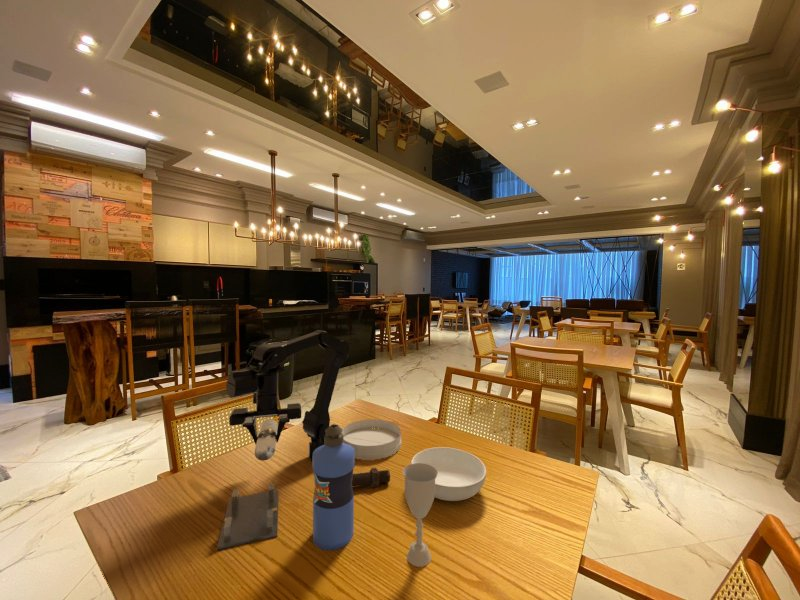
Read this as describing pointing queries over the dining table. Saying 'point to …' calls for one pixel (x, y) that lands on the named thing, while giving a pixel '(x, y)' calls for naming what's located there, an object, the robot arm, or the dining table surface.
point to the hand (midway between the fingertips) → (266, 443)
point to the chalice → (419, 506)
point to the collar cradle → (250, 518)
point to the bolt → (371, 478)
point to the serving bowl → (453, 472)
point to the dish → (372, 438)
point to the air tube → (266, 440)
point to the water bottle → (333, 491)
